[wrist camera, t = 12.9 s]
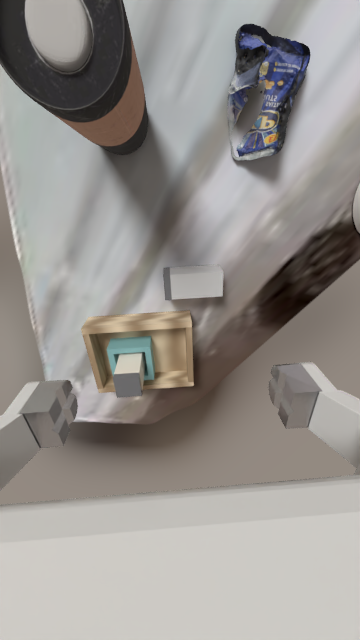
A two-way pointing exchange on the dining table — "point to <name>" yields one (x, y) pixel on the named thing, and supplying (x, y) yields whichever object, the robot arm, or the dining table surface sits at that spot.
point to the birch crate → (167, 342)
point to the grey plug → (193, 282)
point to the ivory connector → (129, 374)
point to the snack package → (281, 87)
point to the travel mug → (77, 66)
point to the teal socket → (132, 346)
